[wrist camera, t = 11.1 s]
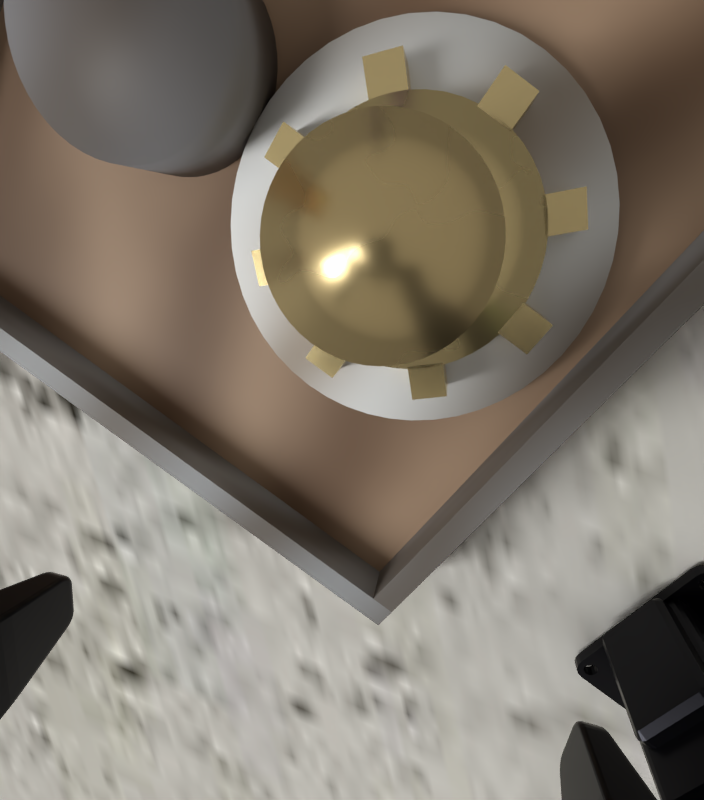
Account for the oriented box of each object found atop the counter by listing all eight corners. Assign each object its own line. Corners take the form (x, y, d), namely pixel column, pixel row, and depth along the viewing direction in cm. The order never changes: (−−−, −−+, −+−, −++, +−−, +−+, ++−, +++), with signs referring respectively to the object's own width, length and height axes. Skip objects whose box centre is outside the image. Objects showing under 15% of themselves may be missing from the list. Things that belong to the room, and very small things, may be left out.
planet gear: (652, 196, 13) (838, 162, 7) (438, 440, 16) (427, 572, 10) (377, -16, 13) (299, -261, 6) (217, 276, 16) (59, 304, 10)
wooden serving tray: (909, 30, 12) (1139, -73, 8) (389, 571, 20) (371, 658, 16) (191, -546, 12) (44, -977, 8) (-53, 249, 20) (-189, 254, 16)
